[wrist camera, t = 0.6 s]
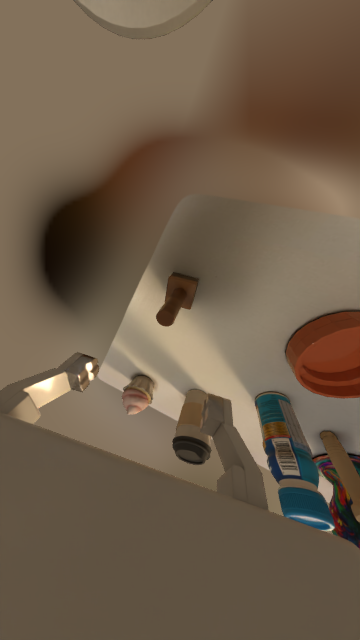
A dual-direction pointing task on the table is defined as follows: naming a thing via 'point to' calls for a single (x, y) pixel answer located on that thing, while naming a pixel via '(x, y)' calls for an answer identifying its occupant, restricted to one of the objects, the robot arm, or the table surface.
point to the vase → (340, 500)
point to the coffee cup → (192, 431)
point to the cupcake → (138, 394)
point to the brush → (177, 297)
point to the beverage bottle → (291, 463)
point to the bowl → (328, 355)
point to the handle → (344, 469)
